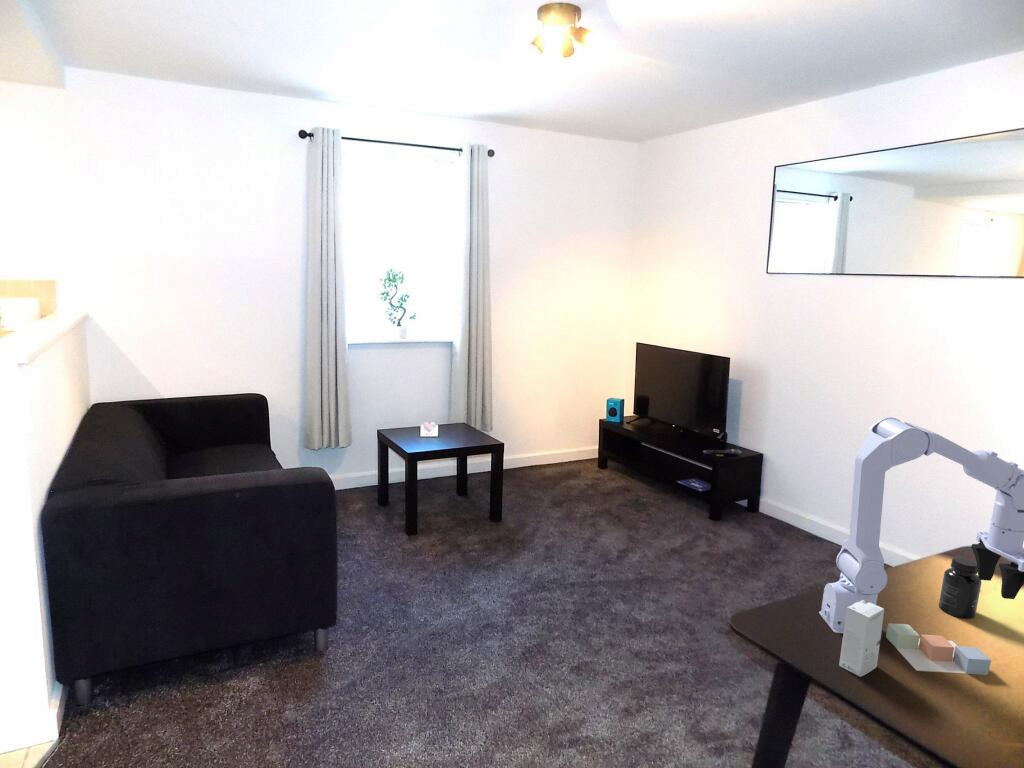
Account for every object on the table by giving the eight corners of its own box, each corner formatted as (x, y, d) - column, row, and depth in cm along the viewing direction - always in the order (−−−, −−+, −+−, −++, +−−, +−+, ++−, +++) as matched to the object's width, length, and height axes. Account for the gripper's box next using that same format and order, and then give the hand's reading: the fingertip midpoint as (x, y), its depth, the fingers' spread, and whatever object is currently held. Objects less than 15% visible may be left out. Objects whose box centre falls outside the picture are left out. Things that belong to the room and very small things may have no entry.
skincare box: (860, 679, 119) (870, 618, 117) (837, 666, 123) (845, 607, 121) (877, 668, 123) (887, 608, 121) (854, 656, 126) (862, 598, 124)
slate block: (966, 673, 122) (968, 658, 121) (952, 660, 126) (955, 646, 125) (988, 674, 121) (991, 659, 121) (974, 661, 125) (976, 647, 125)
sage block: (896, 648, 129) (898, 634, 128) (886, 636, 133) (888, 623, 132) (917, 649, 129) (919, 635, 128) (906, 637, 133) (908, 624, 132)
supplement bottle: (981, 622, 140) (991, 570, 138) (945, 618, 142) (955, 566, 139) (966, 606, 147) (975, 556, 145) (932, 602, 148) (941, 552, 146)
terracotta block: (930, 660, 125) (932, 646, 125) (918, 648, 129) (920, 634, 129) (951, 661, 125) (954, 647, 124) (939, 649, 129) (941, 635, 128)
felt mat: (916, 672, 122) (916, 670, 122) (885, 638, 133) (886, 636, 133) (987, 676, 122) (988, 674, 121) (951, 642, 132) (951, 640, 132)
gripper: (1055, 542, 124) (1041, 608, 127) (1005, 513, 139) (994, 573, 141) (1015, 540, 125) (1002, 605, 128) (970, 511, 139) (959, 570, 142)
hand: (995, 588), depth 134 cm, fingers open, 7 cm apart
